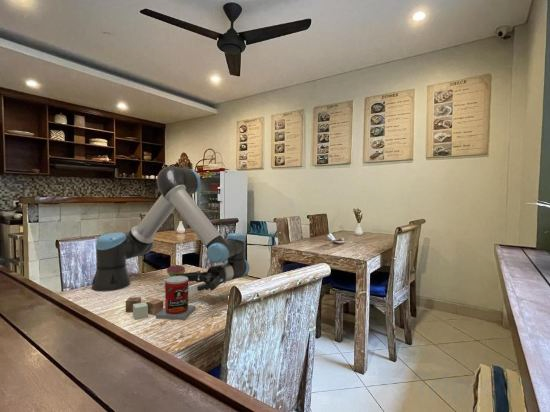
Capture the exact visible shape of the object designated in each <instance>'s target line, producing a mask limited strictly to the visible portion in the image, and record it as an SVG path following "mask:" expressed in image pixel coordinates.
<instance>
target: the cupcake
mask: <svg viewBox="0 0 550 412" xmlns="http://www.w3.org/2000/svg"><path fill="white" fill-rule="evenodd" d="M173 264H174V265H170V266H169V267H168V268H167V270H166V273H167V274H168V275H169V277H173V276H176V274H182V273H186V268H185V267H184V266H182V265H180V264H176V257H175V256H174V257H173Z"/></svg>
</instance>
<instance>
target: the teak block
mask: <svg viewBox="0 0 550 412" xmlns="http://www.w3.org/2000/svg"><path fill="white" fill-rule="evenodd" d="M145 302H146V304H147V305H148V315H152V316H156V314H157V313H159V312H160V311H161V310H162V309H164V300H163V299H158V298H154V299H149V300H148V301H145Z"/></svg>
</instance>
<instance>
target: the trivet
mask: <svg viewBox="0 0 550 412" xmlns="http://www.w3.org/2000/svg"><path fill="white" fill-rule="evenodd" d="M195 310H196V305H193V304H188V308H187V310H186V311H185V312H182V313H179V314H170V313H167V312H166V309H165V307H163V309H162V310H161V311H160V312H159V313H157V314H156V315H155V319H162V320H182V321H185V320H186V319H187V318H188V317H189V316H190V315H191V314H192V313H193V312H194V311H195Z"/></svg>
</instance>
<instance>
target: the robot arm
mask: <svg viewBox="0 0 550 412" xmlns="http://www.w3.org/2000/svg"><path fill="white" fill-rule="evenodd" d="M156 176H157V177H156V186H157V189H158V190H159V192H160V196H159V197H158V198H157V200H156V201H155V202H154V204H153V205H152V206H151V207H150V209H149V210H148V212H147V213H146V214H145V216H144V217H143V218H142V220H140V222H139V223H138V225H135V226H133V227H132V228H131V229H130V230H129V231H128V233H125V232H112V233H111V232H110V233H105V234H102V235H100V236H98V237H97V238H96V244H95V253H96V254H95V256H96V259H95V260H96V266H95V267H96V268H95V269H96V270H95V273H94V276H93V279H92V282H91V289H92V290H94V291H98V292H99V291H100V292H104V291H106V292H107V291H114V290H120V289H121V290H122V289H123V288H126V287H128V286H130V284H131V279H130V276H129V272H128V270H127V263H126V262H127V260H130V259H135V258H137V257H142V256H144V255H147V254H149V253H150V252H151V251H152V249H153V247H154V240H155V236H154V235H155V234H156V233H157V232H158V230H159V229H160V228H161V227H162V225H163V224H164V223H165V222H166V220H167V219H168V217H169V216H170V215H171V214H172V212H174V210H175V209H176V211H177V212H178V213H179V215H180V216H181V217H182V219H183V220H184V221H185V222H186V224H187V225H188V226H189V227H190V228H191V229H192V231H193V232H194V234H195V235H196V236H197V238H198V239H199V240H200V242H202V244H203V245H204V247H205V248H206V256H207V259H208V261H210V262H211V263H214V264H217V265H214V266H213V265H212V266H210V267H208V269H207V271H203V272H201V270H198V271H194V272H193V271H191V272H184V273H182V274H176V276H185V277H188V283H190V282H195V284H192V285H188V296H189V295H193V294H197V293H200V292H202V291H205V290H206V291H215V289H216V288H217V287H219V286H220V285H221V284H226V283H227V282H230V281H232V280H236V279H241V278H242V277H245V276H247V274H249V272H250V267H251V266H250V264H249V261H248V260H247V259H245V249H246V247H245V246H246V241H245V238H246V237H245V235H244V234H243V233H239V232H233V233H227V236H226V240H225V238H224V237H223V236H222V235H221V233H220V232H219V231H218V230H217V228H216V227H215V226H214V225H213V223H212V222H211V220H209V218H208V216H206V215H205V213H204V212H203V210H202V209H201V208H200V207H199V205H197V203H196V202H195V200H194V199H193V198H192V196H191V195H194V194H196V193H197V192H198V191H199V189H200V188H201V184H202V183H201V178H200V174H199V173H198V172H197V171H196V170H194V169H191V168H189V167H185V168H184V167H179V166H175V165H174V166H166V167H163V168H162V169H161V170H160V171H159V173H158V174H157V175H156ZM166 279H167V278H164V279H163V288H165V281H166Z"/></svg>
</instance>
